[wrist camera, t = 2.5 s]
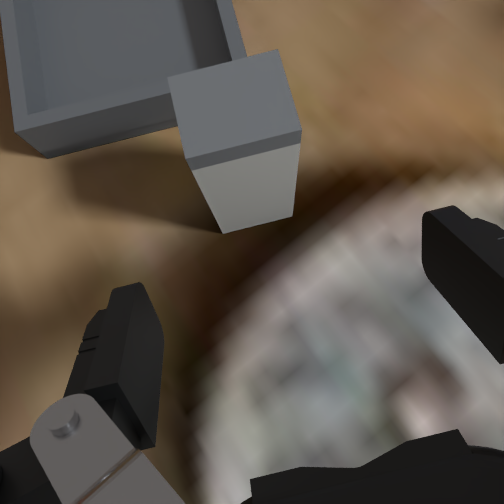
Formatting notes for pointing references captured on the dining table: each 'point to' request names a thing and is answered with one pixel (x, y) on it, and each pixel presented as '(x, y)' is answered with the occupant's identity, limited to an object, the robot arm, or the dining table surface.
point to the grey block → (240, 138)
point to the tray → (106, 65)
